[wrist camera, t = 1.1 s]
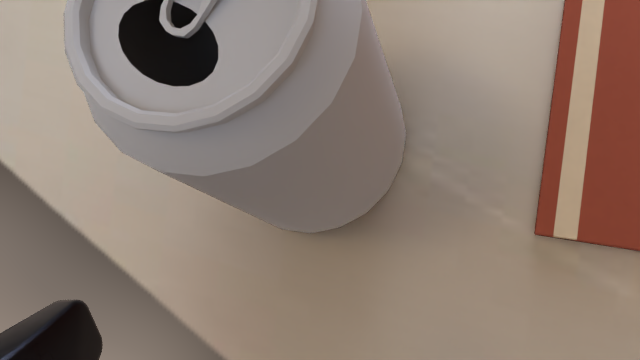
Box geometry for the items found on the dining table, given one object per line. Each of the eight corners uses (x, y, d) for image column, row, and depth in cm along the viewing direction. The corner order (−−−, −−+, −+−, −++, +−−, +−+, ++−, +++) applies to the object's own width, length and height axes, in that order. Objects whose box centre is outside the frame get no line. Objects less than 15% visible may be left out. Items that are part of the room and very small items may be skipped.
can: (199, 171, 25) (-26, 50, 14) (300, 32, 25) (161, -199, 14) (336, 273, 23) (200, 229, 11) (445, 117, 23) (420, -80, 12)
